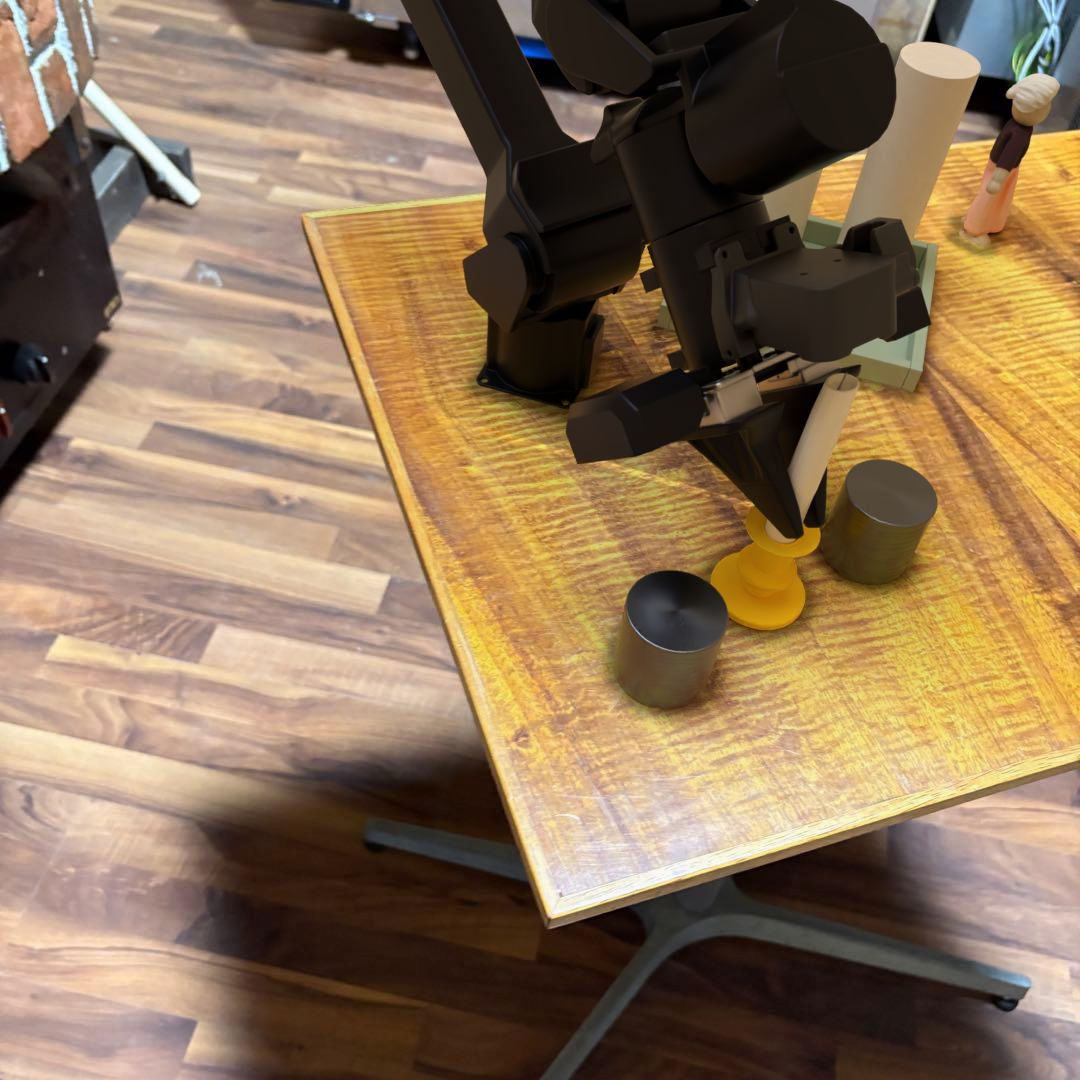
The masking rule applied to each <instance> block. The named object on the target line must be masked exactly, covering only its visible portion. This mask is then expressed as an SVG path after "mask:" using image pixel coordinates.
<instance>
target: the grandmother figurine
mask: <svg viewBox="0 0 1080 1080" xmlns="http://www.w3.org/2000/svg"><path fill="white" fill-rule="evenodd" d="M1060 87H1061V84H1060V83H1059V81H1058V80H1057V78H1055V77H1054V76H1051V75H1049V74H1046V73H1041V72H1039V73H1032V74H1029V75H1027V76H1025V77H1023V78H1021V79H1020V80H1019V81H1017V82H1016V83H1015V84H1013V85H1012V86H1011V87H1010V88H1009V89H1008V90H1007V91H1006V93H1005V97H1006V98H1007V99H1009V100H1012V107H1011V114H1012V117H1011V118H1010V119H1009V120H1008V121H1007V122H1006V123H1005V125H1004V127H1003V128H1002V130H1001V131H1000V132H999V133H998V134H997V137H995V138H996V139H995V141H994V143H993V145H992V147H991V150H990V152H989V156H988V160H987V163H986V165H985V168H984V170H983V173H982V176H981V181H980V186H979V192H978V194H977V195H976V197H975V198H974V199H973V200H972V202H971V204H970V206H969V208H968V210H967V212H966V214H965V215H964V216H962V217H961V219H960V220H961V222H962V223H964V224H963V228H964V229H961V230H959V231H958V234H959V236H960V237H961V238H963V239H965V240H966V241H969V242H971V243H972V244H974V245H977V246H980V247H987V246H989V245H991V243H992V241H991V237H990V236H989V235H988V234H989V233H998V232H1001V231H1002V230H1003V229H1004V228H1005V225H1006V222H1007V219H1008V216H1009V213H1010V210H1011V207H1012V203H1013V200H1014V195H1015V191H1016V187H1017V183H1018V177H1019V172H1020V165H1021V163H1022V160H1023V159H1024V157H1025V156H1026V154H1027V152H1028V150H1029V148H1030V145H1031V140H1032V136H1033V132H1034V126H1036V125H1038V124H1041V123H1042V122H1043V121H1045V120H1046V119H1047V117H1048V116H1049V114H1050V112H1051V109H1052V100H1053V99H1054V98H1055V97H1056V96H1057V94H1058V92H1059V90H1060Z"/></svg>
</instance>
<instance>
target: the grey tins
mask: <svg viewBox="0 0 1080 1080" xmlns="http://www.w3.org/2000/svg"><path fill="white" fill-rule="evenodd" d="M938 505H939V501H938V495H937V492H936V490H935V488H934V487H933V485H932V484H931V482H930V481H929V480H928V478H926V476H924V475H923V474H922V473H920V472H919V471H917V470H916V469H914V468H913V467H911V466H909V465H906V464H904V463H902V462H898V461H894V460H890V459H885V458H884V459H881V458H876V459H867V460H864V461H861V462H859V463H857V464H855V465H854V466H853V467H851V468H850V469H849V471H848V472H847V473H846V476H845V478H844V480H843V483H842V485H841V487H840V490H839V492H838V494H837V496H836V499H835V500H834V503H833V506H832V508H831V510H830V513H829V515H828V518H827V520H826V521H825V524H824V527H823V530H822V532H821V534H820V542H819V547H820V552H821V554H822V556H823V558H824V559H825V561H826V563H828V565H829V566H830V567H831V568H832V569H833V570H835V571H836V572H837V573H838V574H839V575H841V576H843V577H845V578H846V579H849V580H851V581H854V582H856V583H860V584H865V585H883V584H884V585H885V584H888V583H891V582H893V581H895V580H896V579H898V578H899V577H900V576H902V575H903V573H904V571H905V570H906V568H907V566H908V565H909V563H910V561H911V559H912V557H913V555H914V553H915V552H916V549H918V546H919V545H920V543H921V541H922V539H923V536H924V535H925V533H926V532H927V529H928V528H929V526H930V524H931V522H932V521H933V518H934V516H935V515H936V513H937V511H938ZM729 621H730V617H729V614H728V609H727V606H726V603H725V601H724V599H723V597H722V596H721V594H720V593H719V592H718V591H717V589H716V588H715V587H714V586H712V585H711V584H710V581H707V580H706V579H704V578H702V577H701V576H698V575H696V574H694V573H692V572H688V571H684V570H678V569H661V570H656V571H653V572H650V573H648V574H645V575H643V576H642V577H640V578H639V579H638V580H636V581H635V583H634V584H633V585H632V586H631V587H630V589H629V590H628V592H627V594H626V598H625V601H624V606H623V610H622V615H621V620H620V625H619V629H618V632H617V638H616V642H615V647H614V652H613V656H612V668H613V670H612V671H613V674H614V676H615V679H616V681H617V682H618V685H619V686H620V687H621V688H622V689H623V691H624V692H625V693H626V694H627V695H628V696H630V697H631V698H632V699H634V700H635V701H636V702H639V703H640V704H643V705H645V706H647V707H651V708H655V709H664V710H665V709H666V710H671V709H678V708H682V707H685V706H687V705H688V704H689V705H690V704H691V703H693V702H694V701H695V700H697V699H698V698H699V697H700V696H701V695H702V694H704V693H703V692H704V691H705V690H706V688H707V686H708V683H709V680H710V678H711V674H712V671H713V669H714V666H715V663H716V661H717V658H718V655H719V652H720V650H721V648H722V644H723V641H724V638H725V636H726V632H727V630H728V627H729V623H730V622H729Z"/></svg>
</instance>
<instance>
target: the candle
mask: <svg viewBox="0 0 1080 1080" xmlns="http://www.w3.org/2000/svg"><path fill="white" fill-rule="evenodd" d="M847 373H848V372H846V373H837V374H833V375H831V376H829V377H828V378H827V379H826V381H825V383H824V385H823V387H822V389H821V391H820V393H819V395H818V398H817V400H816V402H815V404H814V406H813V408H812V411H811V413H810V415H809V418H808V420H807V423H806V425H805V428H804V430H803V433H802V435H801V438H800V440H799V443H798V445H797V448H796V450H795V453H794V455H793V458H792V460H791V463H790V465H789V467H788V473H789V477H790V480H791V483H792V486H793V489H794V492H795V496H796V499H797V502H798V505H799V509H800V514H801V519H802V524H803V529H804V535H803V536H802V537H801V538H799V539H787V538H785V537H784V536H783V535H782V534H781V533H780V532H779V531H778V530H777V529H776V528H775V527H774V526H773V525H772V524H771V522H770V521H769V520H768V519H767V518H766V517H765V516H764V515H763V514H762V513H761V512H760V511H759V510H758V509H757V508H756V507H755V505H753V506H752V507H751V508H750V509H749V510H748V512H747V514H746V516H745V523H744V524H745V525H744V526H745V529H746V532H747V534H748V536H749V537H750V539H751V540H752V541H753V542H752V543H749V544H748V545H746V546H744V547H743V548H742V549H741V550H740V551H738V552H732V553H731V554H729V555H727V556H724V557H723V558H722V559H720V561H718V562H717V563H716V565H715V566H714V568H713V570H712V571H711V575H710V581H709V583H710V584H711V585H712V586H714V587H715V588H716V589H717V591H718V592H719V593H720V594H721V596H722V597H723V599H724V601H725V603H726V606H727V609H728V614H729V619H730V620H732V621H733V622H735V623H737V624H739V625H742V626H744V627H746V628H751V629H754V630H759V631H774V630H778V629H783V628H785V627H787V626H789V625H791V624H793V623H794V622H795V621H796V620H797V619H798V618H799V617H800V615H801V613H802V611H803V609H804V607H805V604H806V595H807V594H806V591H805V586H804V584H803V583H804V582H803V581H802V580H801V578H800V576H799V575H798V566H797V562H796V561H795V558H801V557H805V556H807V555H809V554H812V552H814V551H815V550H816V549H817V548H818V546H819V545H820V537H821V534H822V532H821V528H820V527H819V528H807V527H806V526H805V525H804V523H803V521H804V518H805V516H806V513H807V511H808V509H809V506H810V504H811V501H812V499H813V497H814V495H815V493H816V491H817V488H818V486H819V484H820V481H821V479H822V476H823V474H824V472H825V469H826V467H827V468H828V466H827V465H829V462H830V460H831V457H832V455H833V452H834V450H835V448H836V446H837V443H838V441H839V438H840V436H841V434H842V431H843V429H844V426H845V424H846V421H847V419H848V416H849V414H850V412H851V409H852V406H853V403H854V401H855V398H856V396H857V392H858V390H859V388H860V385H861V384H860V381H859V380H860V379H858V378H856V377H854V376H852V375H850V374H847Z"/></svg>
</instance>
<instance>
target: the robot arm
mask: <svg viewBox="0 0 1080 1080" xmlns="http://www.w3.org/2000/svg"><path fill="white" fill-rule="evenodd" d="M400 2H401V4H402V7H403V8H404V10H405V13H406V14H407V17H408V19H409V21H410V23H411V25H412V27H413V29H414V31H415V33H416V35H417V37H418V39H419V42H420V43H421V46H422V48H423V49H424V51H425V53H426V56H427V58H428V60H429V62H430V64H431V66H432V68H433V70H434V72H435V74H436V76H437V78H438V81H439V82H440V84H441V86H442V89H443V91H444V93H445V95H446V97H447V99H448V100H449V103H450V105H451V107H452V109H453V111H454V113H455V115H456V117H457V119H458V122H459V124H460V125H461V127H462V130H463V131H464V133H465V135H466V137H467V140H468V142H469V144H470V145H471V148H472V150H473V152H474V154H475V156H476V158H477V160H478V162H479V164H480V167H481V168H482V170H483V173H484V175H485V178H486V186H485V194H484V205H483V214H482V215H483V217H482V234H483V236H484V239H485V242H486V245H484V246H483V247H481V248H479V249H478V250H476V251H475V252H473V253H471V254H469V255H467V256H466V257H464V258H462V261H461V263H462V268H463V270H462V271H463V275H464V281H465V288H466V292H467V294H468V296H470V298H471V299H473V301H474V302H475V303H476V304H477V305H478V306H479V307H480V308H482V310H483V311H484V312H485V313H486V314H487V324H486V325H487V326H486V327H487V329H486V354H485V362H484V365H483V366H482V368H481V370H480V371H479V373H478V375H477V377H476V380H475V382H476V384H477V385H478V386H480V387H483V388H486V389H491V390H494V391H498V392H502V393H505V394H508V395H513V396H515V397H519V398H523V399H526V400H531V401H533V402H537V403H541V404H545V405H549V406H552V407H555V408H560V409H563V410H568V413H567V417H566V426H565V435H566V437H567V440H568V444H569V446H570V449H571V451H572V454H573V457H574V459H575V462H576V465H578V466H579V465H585V464H592V463H601V462H607V461H615V460H622V459H630V458H636V457H639V456H643V455H645V454H648V453H651V452H654V451H656V450H658V449H660V448H663V447H666V446H668V445H669V444H671V443H672V444H673V443H680V442H687V444H689V445H690V446H691V447H692V448H693V449H695V450H696V451H697V452H698V453H699V454H700V455H702V456H703V457H704V458H705V459H706V460H707V461H709V462H710V463H711V464H712V465H713V466H714V467H715V468H717V469H718V470H719V471H720V472H721V473H722V474H723V475H724V476H726V477H727V479H728V480H730V481H731V483H732V484H734V486H735V487H736V488H737V489H738V490H739V491H740V492H741V493H742V494H743V495H744V496H745V497H746V498H747V499H748V500H749V502H751V503H752V505H753V506H755V507H756V508H757V509H758V510H759V511H760V512H761V513H762V514H763V515H764V516H765V517H766V518H767V519H768V520H769V521H770V522H771V524H772V525H773V526H774V527H775V528H776V529H777V530H778V531H779V532H780V533H781V534H782V535H783V536H784V537H785V538H787V539H799V538H801V537H802V536H803V535H804V529H803V524H802V519H801V514H800V509H799V505H798V502H797V499H796V496H795V492H794V489H793V486H792V483H791V480H790V477H789V473H788V467H789V465H790V463H791V460H792V458H793V455H794V453H795V450H796V448H797V445H798V443H799V440H800V438H801V435H802V433H803V430H804V428H805V425H806V423H807V420H808V418H809V415H810V413H811V411H812V408H813V406H814V404H815V402H816V400H817V398H818V395H819V393H820V391H821V389H822V387H823V385H824V383H825V381H826V379H827V378H828V377H829V376H831V375H833V374H837V373H846V372H848V373H847V374H850V375H852V376H854V377H858V376H859V374H860V372H861V364H858V365H853V366H848V367H844V368H841V367H840V364H839V361H838V360H840V359H842V358H845V357H847V356H849V355H850V354H851V352H852V350H853V349H854V348H857V347H859V346H861V345H863V344H865V343H868V342H870V341H872V340H874V339H877V338H879V339H882V340H884V341H886V342H892V341H896V340H898V339H901V338H903V337H905V336H907V335H909V334H912V333H914V332H916V331H918V330H920V329H923V328H925V327H927V326H928V327H929V326H932V320H931V317H930V316H929V313H928V310H927V306H926V303H925V300H924V296H923V293H922V289H921V288H920V287H919V286H917V285H918V284H919V281H920V276H919V273H918V271H917V270H916V256H915V252H914V250H913V247H912V245H911V242H910V240H909V237H908V235H907V232H906V230H905V227H904V225H903V222H902V220H901V219H894V218H883V217H877V218H874V219H871V220H868V221H866V222H863V223H860V224H858V225H855V226H853V227H851V228H850V229H849V230H848V231H847V233H846V236H845V239H844V241H843V244H837V243H836V244H833V245H831V246H828V247H825V248H823V249H811V248H806V247H805V245H804V244H803V242H802V240H801V236H800V233H799V230H798V227H797V225H796V224H795V223H794V222H791V219H790V216H789V215H787V216H784V217H781V218H778V219H776V220H773V221H770V217H769V214H768V211H767V208H766V205H765V201H761V200H763V195H765V194H769V193H771V192H774V191H776V190H778V189H780V188H782V187H784V186H787V185H789V184H791V183H793V182H795V181H797V180H799V179H802V178H804V177H806V176H808V175H810V174H812V173H815V172H817V171H819V170H821V169H823V170H824V169H825V168H828V167H830V166H832V165H834V164H836V163H838V162H841V161H843V160H845V159H847V158H849V157H851V156H853V155H856V154H858V153H860V152H862V151H864V150H866V149H868V148H869V147H870V146H871V145H872V144H874V143H875V142H877V141H878V140H879V139H880V138H881V136H882V135H883V134H884V132H885V131H886V130H887V128H888V126H889V123H890V121H891V119H892V116H893V114H894V108H895V103H896V75H895V64H894V60H893V57H892V54H891V50H890V48H889V46H888V45H887V43H885V42H881V40H880V38H879V36H878V34H877V33H876V31H875V30H874V28H873V27H872V26H871V25H870V23H869V22H868V20H867V19H865V17H864V16H863V15H861V14H860V13H859V12H858V11H856V10H855V9H854V8H853V7H851V6H850V5H848V4H845V3H844V2H841V1H839V0H530V3H531V4H530V6H531V12H530V13H531V24H532V26H533V27H534V29H535V30H536V32H537V34H538V35H539V37H540V39H541V40H542V42H543V43H544V45H545V47H546V49H547V50H548V51H549V53H550V55H551V57H552V58H553V60H554V62H555V63H556V65H557V67H558V68H559V70H560V71H561V73H562V74H563V76H564V77H565V79H566V80H567V81H568V82H569V83H570V85H572V86H573V87H574V88H575V89H576V90H577V91H578V92H579V93H581V94H583V95H586V96H592V95H596V96H598V95H603V94H607V93H611V92H617V93H620V94H623V95H626V96H627V95H631V94H635V93H639V92H642V91H645V90H650V89H653V88H657V87H661V86H665V85H668V84H672V83H675V82H679V83H680V85H674V86H668V87H664V88H662V89H660V90H658V91H655V92H654V93H653V94H651V95H650V96H649V97H647V98H646V99H642V98H641V97H640V96H636V97H632V98H628V99H625V100H621V101H618V102H617V101H616V102H614V103H610V104H607V105H605V106H604V107H603V113H602V120H601V124H600V127H599V130H598V131H597V134H596V135H595V137H594V138H591V139H587V140H584V141H581V142H579V141H578V140H576V139H575V138H573V137H572V136H570V135H569V134H567V133H566V132H565V131H563V129H562V128H561V126H560V124H559V122H558V121H557V118H556V116H555V114H554V112H553V110H552V108H551V106H550V103H549V102H548V100H547V98H546V96H545V94H544V91H543V90H542V87H541V86H540V84H539V81H538V79H537V78H536V76H535V74H534V71H533V70H532V67H531V65H530V64H529V61H528V59H527V57H526V55H525V53H524V51H523V48H522V47H521V45H520V43H519V40H518V38H517V36H516V35H515V33H514V30H513V29H512V27H511V24H510V23H509V21H508V19H507V17H506V14H505V12H504V10H503V8H502V6H501V5H500V2H499V1H498V0H400ZM645 249H647V252H648V254H649V258H650V261H651V264H652V266H653V267H650V268H648V269H646V270H643V271H641V272H639V270H640V266H641V262H642V257H643V255H644V252H645ZM638 272H639V273H638ZM636 274H638V275H639V279H640V281H641V284H642V287H643V289H644V293H645V294H649V293H651V292H654V291H656V290H659V289H660V291H661V293H662V296H663V298H664V299H665V302H666V305H667V308H668V311H669V314H670V317H671V320H672V323H673V326H674V329H675V331H674V332H675V335H676V338H677V340H678V343H679V346H680V348H678V349H676V350H673V351H671V352H668V353H666V357H667V360H668V362H669V366H670V369H667V370H663V371H660V372H655V373H652V374H648V375H644V376H640V377H637V378H632V379H629V380H626V381H623V382H621V383H618V384H616V385H614V386H611V387H609V388H606V389H605V390H602V391H600V392H597V393H595V394H592V395H590V396H587V397H585V398H582V399H580V400H577V399H578V397H579V395H580V393H581V390H583V391H585V390H587V389H589V388H590V385H591V383H592V381H593V379H594V377H595V375H596V373H597V370H598V368H599V366H600V359H601V352H602V345H603V339H604V331H605V324H606V318H605V315H603V314H600V313H598V311H599V310H598V309H599V305H600V304H599V303H600V299H601V298H604V297H606V296H610V295H617V294H619V293H621V292H623V290H624V288H625V286H626V284H627V283H628V282H630V281H632V280H633V279H634V278H635V276H636ZM764 347H770V349H768V350H766V351H763V352H761V353H760V350H759V349H762V348H764ZM482 380H487V381H482ZM563 402H568V403H569V404H565V403H563ZM828 465H829V464H828ZM828 465H827V467H826V469H825V472H824V474H823V476H822V479H821V481H820V484H819V486H818V488H817V491H816V493H815V495H814V497H813V499H812V501H811V504H810V506H809V509H808V511H807V513H806V516H805V518H804V521H803V523H804V525H805V526H806V527H807V528H819V529H820V528H821V527H823V526H825V525H826V516H827V515H826V513H827V489H828V467H829V466H828Z"/></svg>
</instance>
